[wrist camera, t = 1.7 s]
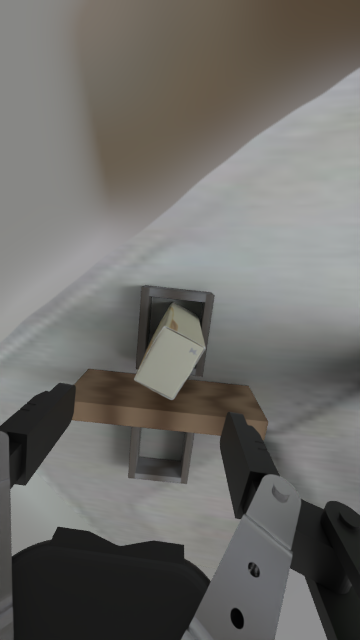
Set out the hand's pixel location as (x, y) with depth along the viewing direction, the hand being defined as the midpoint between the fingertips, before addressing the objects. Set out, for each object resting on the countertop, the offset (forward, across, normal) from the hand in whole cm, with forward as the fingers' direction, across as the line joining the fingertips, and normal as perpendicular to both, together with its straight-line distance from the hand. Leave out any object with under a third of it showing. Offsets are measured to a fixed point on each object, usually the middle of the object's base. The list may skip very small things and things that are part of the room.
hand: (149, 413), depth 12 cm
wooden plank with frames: (+20, -2, +10) cm, 23 cm away
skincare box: (+20, -1, +1) cm, 21 cm away
